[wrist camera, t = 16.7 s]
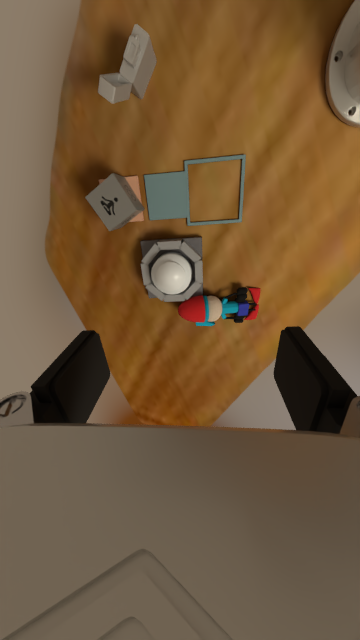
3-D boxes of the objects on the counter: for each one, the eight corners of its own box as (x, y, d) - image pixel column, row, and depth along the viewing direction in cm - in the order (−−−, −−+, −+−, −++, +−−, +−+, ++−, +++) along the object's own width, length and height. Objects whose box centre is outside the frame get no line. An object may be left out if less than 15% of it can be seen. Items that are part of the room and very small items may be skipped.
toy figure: (257, 280, 39) (176, 287, 38) (268, 292, 35) (178, 299, 34) (251, 315, 43) (178, 321, 43) (261, 329, 39) (180, 336, 38)
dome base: (201, 236, 35) (201, 239, 32) (202, 294, 40) (203, 300, 37) (141, 240, 36) (137, 243, 33) (150, 295, 41) (146, 302, 38)
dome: (190, 250, 35) (190, 255, 32) (192, 287, 38) (191, 295, 35) (152, 252, 35) (147, 257, 32) (156, 289, 38) (153, 296, 35)
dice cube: (100, 198, 33) (85, 197, 29) (124, 177, 32) (112, 172, 27) (120, 227, 35) (109, 231, 31) (144, 209, 33) (136, 210, 29)
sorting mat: (245, 155, 29) (245, 154, 29) (241, 221, 33) (241, 222, 33) (97, 170, 32) (96, 169, 31) (109, 231, 36) (109, 231, 35)
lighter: (144, 49, 25) (124, -10, 18) (157, 60, 26) (141, 6, 19) (120, 117, 29) (94, 89, 22) (131, 126, 29) (110, 101, 22)
